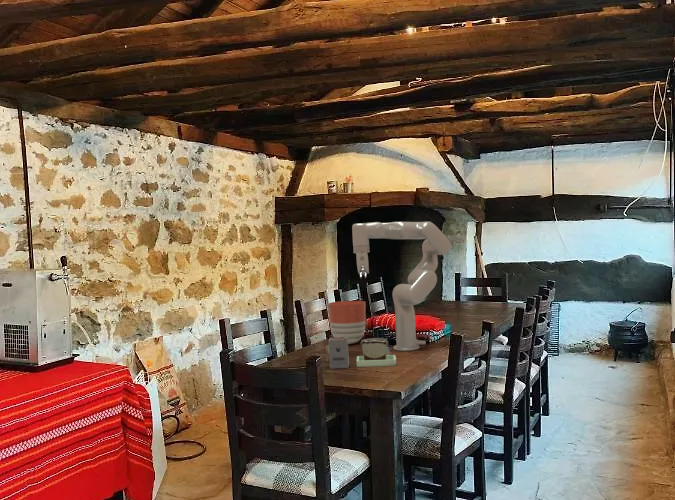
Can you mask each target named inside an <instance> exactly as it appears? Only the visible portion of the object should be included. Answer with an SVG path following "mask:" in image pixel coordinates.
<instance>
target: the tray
mask: <svg viewBox="0 0 675 500" xmlns="http://www.w3.org/2000/svg"><path fill="white" fill-rule="evenodd" d="M355 364H356V367H357V368H364V367H365V368H368V367H369V368H370V367H395V366H397V356H396V354H386V360H364V356H363V355H358V356H356V363H355Z"/></svg>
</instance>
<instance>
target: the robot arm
mask: <svg viewBox="0 0 675 500" xmlns="http://www.w3.org/2000/svg"><path fill="white" fill-rule="evenodd" d="M351 228H352V229H351V230H352V231H351V232H352V246H353V254H355V255H356V258H355V259H356V267H357V273H358V275H359V277H358V278H359V285H360V286H359V287H360V288H365V287H366V288H368V278H367V274H370V268H369V256H368V253H370V239H386V240H424V241H423V243H422V245H421V247H422V248H421V249H422V259H421V260H420V261H419V262H418V264H417V265H416V266H415V268H413V270H412V271H411V272H410V273H409V275H408V276H407V282H408V283H400V284H397V285H396V286H395V287H394V288H393V290H392V294H391V295H392V300H393V304H394V305H393V306H394V312H395V313H394V319H395V320H394V321H395V335H396V336H395V339H396V340H395V341H396V344H395V345H394V346H393V349H394V350H395V351H400V352H401V351H405V352H408V351H416V350H419V349H420V345H422V346H423V345H426V340H421V339H420V340H418V339H417V337H416V334H417V333H416V314H415V313H416V311H415V308H414V306H416V305H419V304H421V303H422V302H423V301H424V300H425V299H426V297H427V296H428V295H429V294H430V293H431V292H432V290H433V289H434V288H435V287H436V284H437V282H438V276H437V273H436V270H437V268H438V265H439V260H438V259H439V258H438V255H439V256H444V255H446V254H448V253H449V252H450V250H451V243H450V240H449V239H448V238H447V237H446V235H445V234H444V233H443V231H442V230H440V229H439V227H438V226H436V224H434V223H433V222H432V221H392V222H380V221H374V222H362V223H353V224H352V226H351Z"/></svg>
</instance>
